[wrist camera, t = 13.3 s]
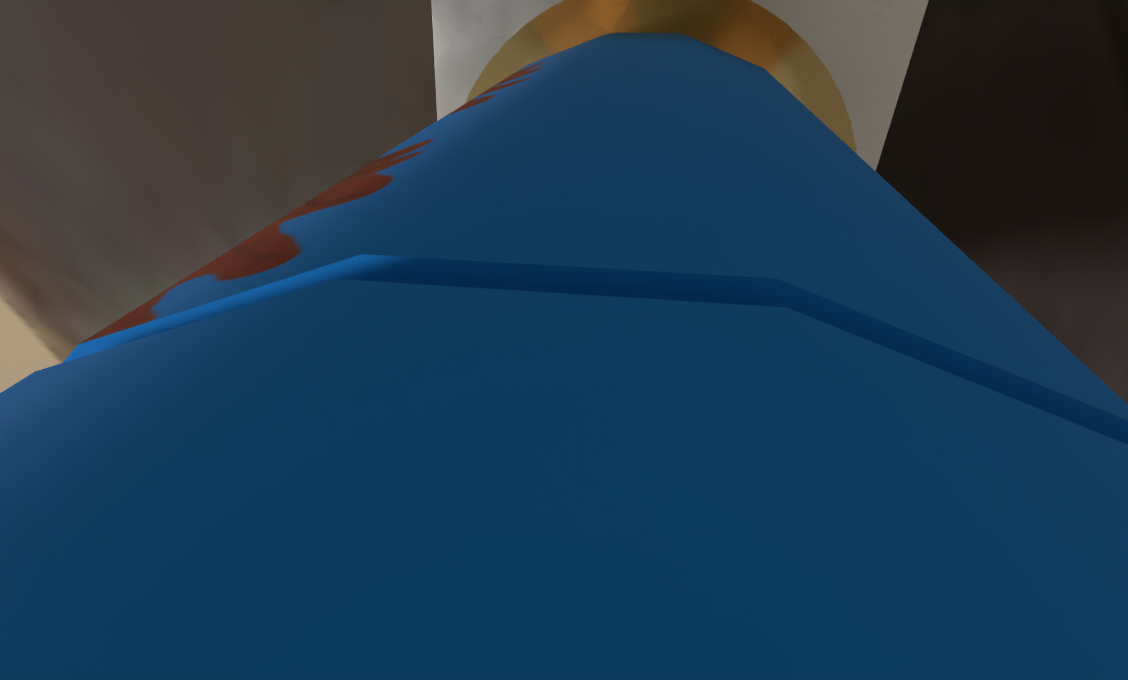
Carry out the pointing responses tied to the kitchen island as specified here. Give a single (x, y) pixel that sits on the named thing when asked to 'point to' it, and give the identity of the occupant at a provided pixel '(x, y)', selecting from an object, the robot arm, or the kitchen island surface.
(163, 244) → the kitchen island surface
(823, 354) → the thermos
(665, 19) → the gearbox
